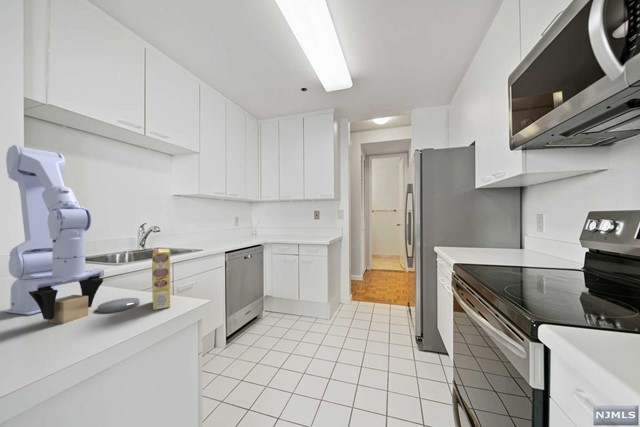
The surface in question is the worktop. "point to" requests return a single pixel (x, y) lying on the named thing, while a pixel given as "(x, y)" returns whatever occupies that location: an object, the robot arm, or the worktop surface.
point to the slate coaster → (118, 305)
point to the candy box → (161, 278)
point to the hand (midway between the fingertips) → (68, 312)
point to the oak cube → (70, 308)
